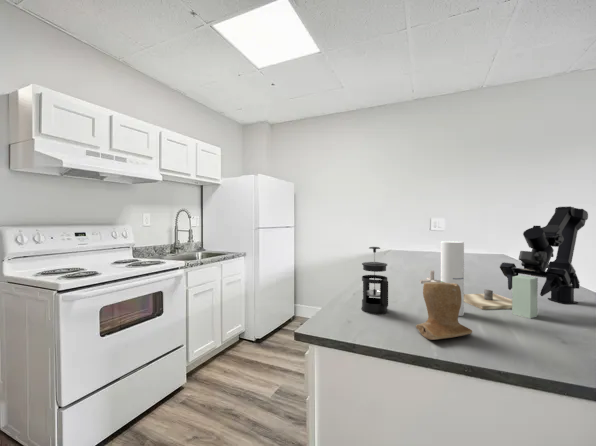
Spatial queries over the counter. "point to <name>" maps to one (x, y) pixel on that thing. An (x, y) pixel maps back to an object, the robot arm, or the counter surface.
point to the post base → (488, 300)
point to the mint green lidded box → (524, 296)
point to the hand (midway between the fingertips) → (524, 292)
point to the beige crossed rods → (430, 278)
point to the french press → (374, 303)
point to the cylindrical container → (453, 266)
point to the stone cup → (442, 311)
